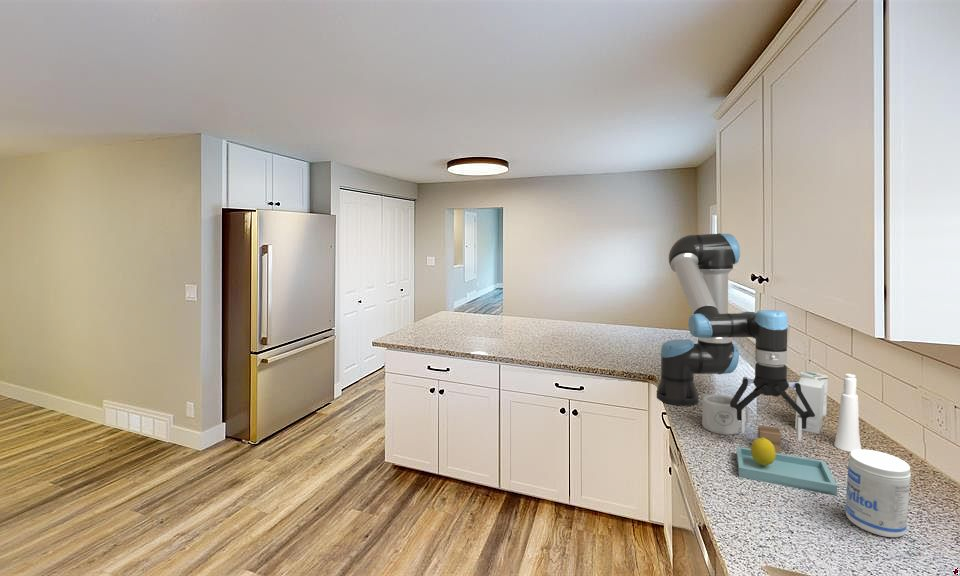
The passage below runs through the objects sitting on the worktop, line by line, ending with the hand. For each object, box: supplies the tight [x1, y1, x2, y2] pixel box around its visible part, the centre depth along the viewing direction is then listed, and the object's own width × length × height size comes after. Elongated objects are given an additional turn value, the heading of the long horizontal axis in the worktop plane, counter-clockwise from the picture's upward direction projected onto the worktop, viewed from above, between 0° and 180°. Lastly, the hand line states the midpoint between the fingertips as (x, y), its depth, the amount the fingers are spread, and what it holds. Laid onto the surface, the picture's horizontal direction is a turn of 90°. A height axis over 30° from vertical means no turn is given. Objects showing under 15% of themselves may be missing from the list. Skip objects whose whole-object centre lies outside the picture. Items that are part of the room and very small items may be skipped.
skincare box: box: [794, 377, 825, 435], centre depth 136 cm, size 8×7×16 cm
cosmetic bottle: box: [833, 373, 862, 453], centre depth 122 cm, size 6×6×22 cm
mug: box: [701, 393, 750, 436], centre depth 138 cm, size 14×11×10 cm
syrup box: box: [799, 371, 829, 417], centre depth 146 cm, size 6×6×14 cm
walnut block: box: [757, 424, 782, 454], centre depth 123 cm, size 5×5×6 cm
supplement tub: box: [845, 448, 912, 538], centre depth 89 cm, size 10×10×15 cm
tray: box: [736, 446, 838, 496], centre depth 111 cm, size 13×20×2 cm, turn 61°
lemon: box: [750, 437, 776, 466], centre depth 113 cm, size 6×6×8 cm
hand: (770, 434), depth 123 cm, fingers open, 13 cm apart
